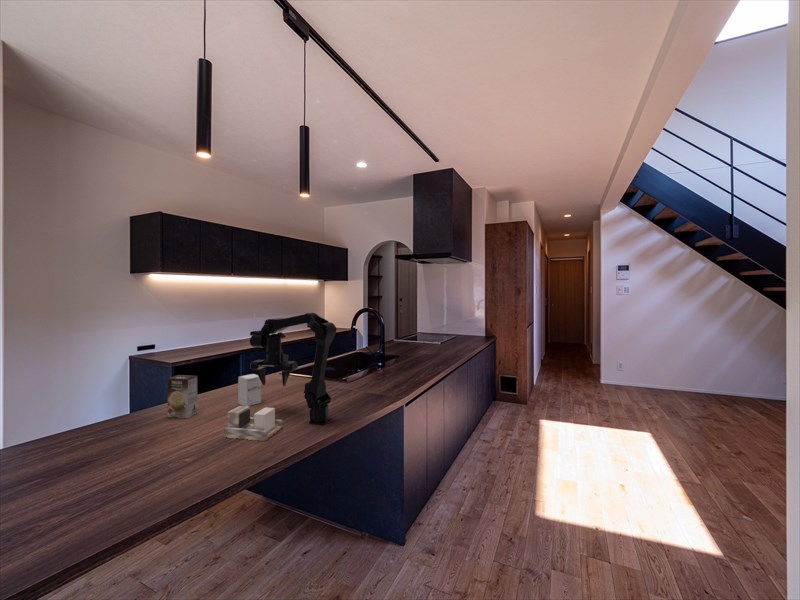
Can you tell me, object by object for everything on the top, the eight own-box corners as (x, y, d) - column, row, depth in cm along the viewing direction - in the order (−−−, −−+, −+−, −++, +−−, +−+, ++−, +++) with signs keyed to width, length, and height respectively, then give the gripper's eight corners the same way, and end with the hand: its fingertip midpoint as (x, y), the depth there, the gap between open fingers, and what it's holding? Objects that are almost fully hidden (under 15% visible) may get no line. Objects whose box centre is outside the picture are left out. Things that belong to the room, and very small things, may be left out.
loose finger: (275, 426, 129) (274, 408, 129) (264, 434, 122) (264, 414, 122) (263, 425, 130) (263, 407, 130) (252, 433, 123) (252, 413, 123)
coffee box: (166, 417, 141) (166, 378, 140) (178, 412, 147) (177, 374, 147) (187, 418, 140) (187, 379, 140) (198, 413, 146) (198, 375, 146)
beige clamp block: (282, 427, 131) (282, 406, 131) (265, 441, 120) (264, 417, 119) (244, 424, 134) (243, 403, 134) (223, 437, 123) (223, 414, 122)
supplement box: (246, 407, 154) (246, 378, 154) (237, 403, 158) (237, 376, 158) (261, 402, 160) (261, 375, 159) (253, 399, 164) (252, 373, 164)
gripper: (303, 346, 151) (303, 381, 152) (264, 344, 155) (264, 379, 155) (291, 350, 140) (291, 388, 141) (249, 348, 144) (249, 386, 144)
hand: (274, 385), depth 146 cm, fingers open, 9 cm apart
